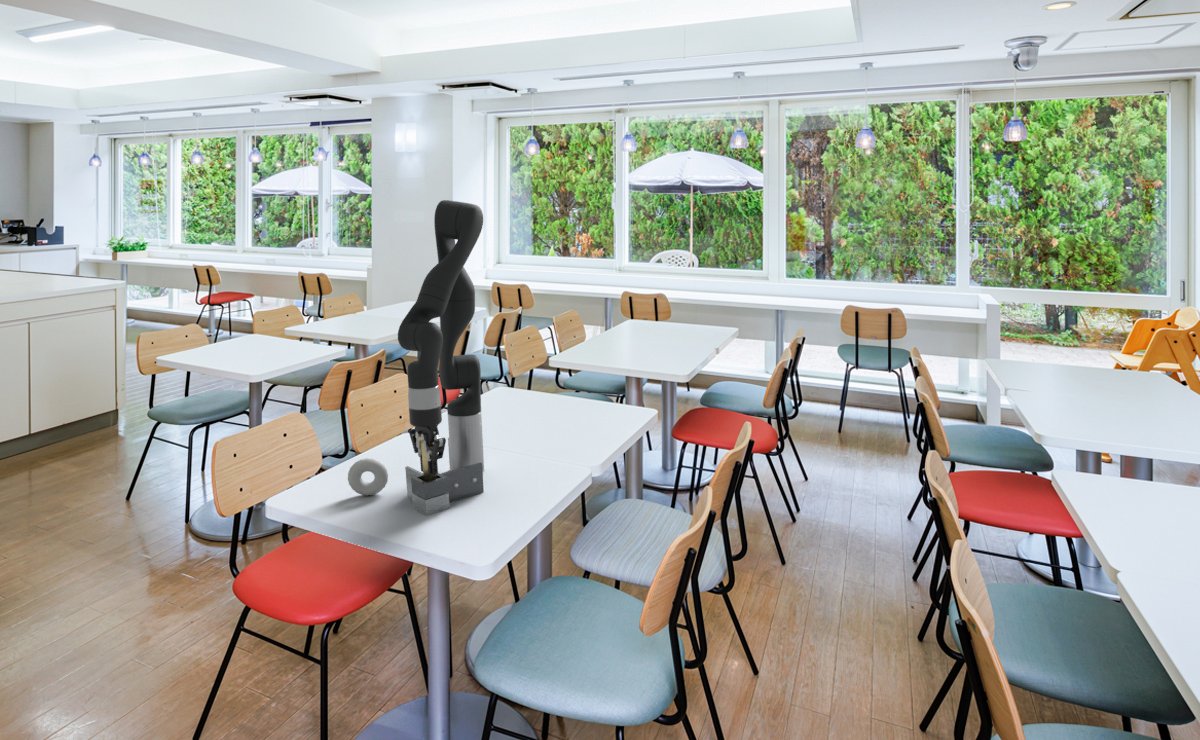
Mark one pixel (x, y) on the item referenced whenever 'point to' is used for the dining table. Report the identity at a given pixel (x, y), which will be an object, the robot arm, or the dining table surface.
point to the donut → (370, 466)
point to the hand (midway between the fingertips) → (429, 472)
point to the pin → (426, 463)
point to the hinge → (443, 487)
